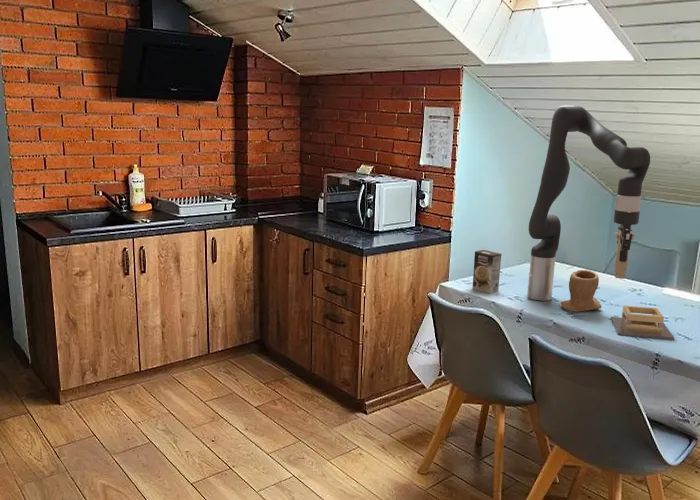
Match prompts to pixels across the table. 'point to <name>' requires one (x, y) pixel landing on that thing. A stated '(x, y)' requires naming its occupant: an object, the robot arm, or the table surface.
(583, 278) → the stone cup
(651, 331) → the collar stand
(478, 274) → the coffee box
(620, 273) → the handle
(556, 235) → the robot arm
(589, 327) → the table surface
